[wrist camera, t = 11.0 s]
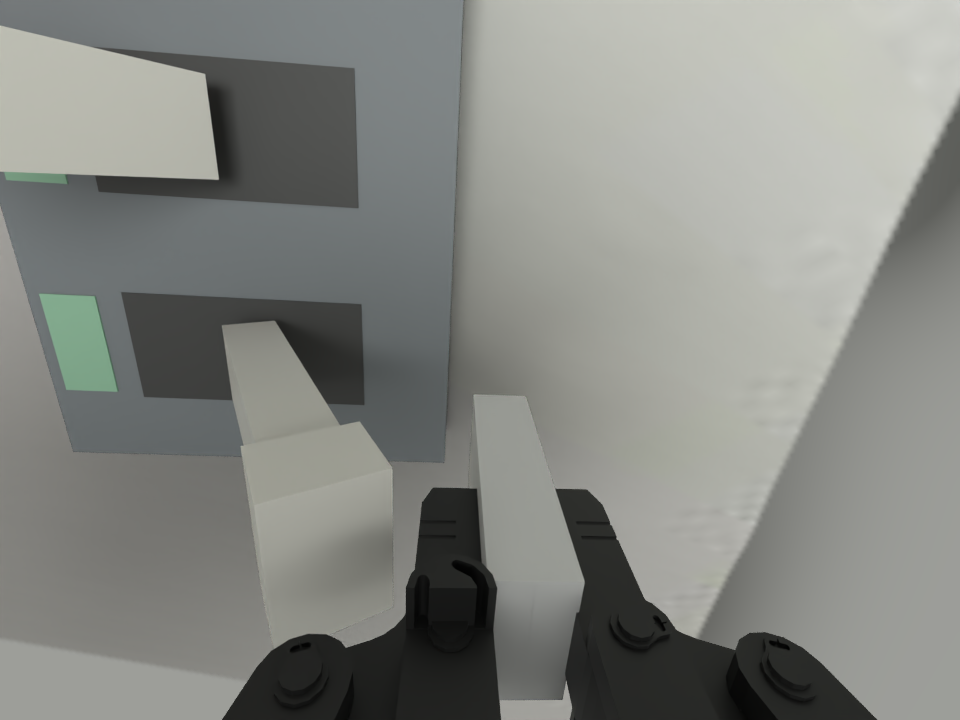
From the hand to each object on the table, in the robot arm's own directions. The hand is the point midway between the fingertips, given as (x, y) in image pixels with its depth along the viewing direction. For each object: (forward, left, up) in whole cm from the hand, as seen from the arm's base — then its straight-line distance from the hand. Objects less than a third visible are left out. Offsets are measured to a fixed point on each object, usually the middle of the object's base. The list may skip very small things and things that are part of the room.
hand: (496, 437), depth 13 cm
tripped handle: (-9, 0, -6) cm, 11 cm away
